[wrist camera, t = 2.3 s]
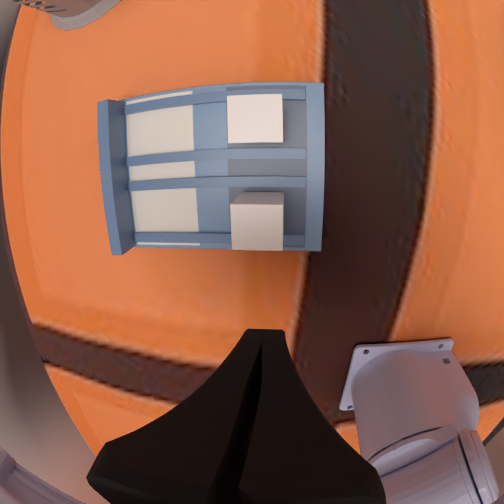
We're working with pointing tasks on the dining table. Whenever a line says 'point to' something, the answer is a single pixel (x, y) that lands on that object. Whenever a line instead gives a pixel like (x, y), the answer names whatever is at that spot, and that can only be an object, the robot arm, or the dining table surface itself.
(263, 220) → the tab
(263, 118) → the tab
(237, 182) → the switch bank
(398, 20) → the dining table surface
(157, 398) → the dining table surface
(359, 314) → the dining table surface
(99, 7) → the french press
